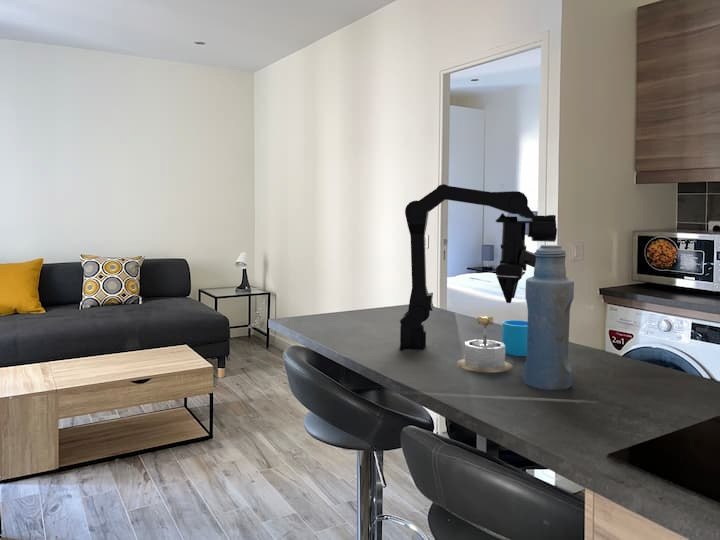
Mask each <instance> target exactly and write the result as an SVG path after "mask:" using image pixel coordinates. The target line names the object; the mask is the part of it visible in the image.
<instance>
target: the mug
mask: <svg viewBox="0 0 720 540" xmlns="http://www.w3.org/2000/svg"><path fill="white" fill-rule="evenodd" d="M527 325H528V320H517V319H515V320H504V321H502V327H501V328H502V331H501V335H502V336H501V342H502V343H504V345H505V355H510V356H516V357H527Z"/></svg>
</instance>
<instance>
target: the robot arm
mask: <svg viewBox="0 0 720 540" xmlns="http://www.w3.org/2000/svg"><path fill="white" fill-rule="evenodd" d="M444 201H451V202H452V201H453V202H460V203H466V204H472V205H477V206H478V205H480V206H487V207H490V208H493V209H496V210H498V211H503V213H501V214H500V216H499V217H497V218H496V219H495V223H500V224H501V223H502V233H501V234H502V235H501V236H502V237H501V244H500V249H501V255H500V257H501V258H500V260H499V265H497V266H496V268H495V276H496V279H497V281H498V284H499V286H500V289H501V291H502V294H503V296H504V299H505V302H506V303H507V304H511V303H512V300H513V299H514V298H515V296H516V292H517V288H518V284H519V281H520V280H522V278H523V276H524V275H525V274H526V271H527V267H528V266H530V267H532V268H535V263H536V251H535V252H532V251H529V250H527V245H526V244H525V243H526V225H527V238H530V239H531V242H549V243H550V242H551V243H552V242H553V243H554V242H556V240H557V235H558V227H557V219H556V217H557V216H556V215H555V214H547V215H535V213H534V212H533V211H532V209H531V208H530V207H529V206H528V205H529V200H528V197H527V196H526V195H525V193H524V192H521V191H516V190H515V191H492V192H491V191H484V190H478V189H472V188H466V187H465V188H464V187H458V186H451V185H447V184H445V183H444V184H442V183H441V184H440V185H438V186H437V187H436V188H435V189H433V190H432V191H431V192H429V193H428V194H426V195H424V197H422V198H420V199H419V200H412V201H410V202H409V203H408V204H407V205H406V206H405V209H404V214H405V219H406V223H407V228H408V231H409V232H408V233H409V236H410V259H411V261H410V263H411V293H410V296H409V303H408V309H407V311H406V312H405V313H404V314H403V315H402V317H401V318H400V319H399V322H400V331H399V333H400V336H399V350H401V351H404V350H418V351H420V350H421V351H424V350H425V348H426V346H427V330H425V324H423V323H424V322H426V321H427V320H428V318H429V317H430V314H431V313H432V312H433V309H434V303H433V298H434V296H433V295H434V292H429V290H428V287H427V268H426V265H427V264H426V263H427V262H426V261H427V260H426V231H427V225H428V220H429V212H431V211H432V210H433V209H435V208H436V207H438V206H439V205H440V204H442V203H443V202H444ZM504 212H505V213H508V214H510V215H518V216H519V217H521V218H523V219H529V220H518V216H507V215H505V214H504Z"/></svg>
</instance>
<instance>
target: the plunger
mask: <svg viewBox="0 0 720 540" xmlns="http://www.w3.org/2000/svg"><path fill="white" fill-rule="evenodd" d="M477 324H478V325H483V332H482V334H483V335H482V339H483V341H477V342H473V343H472V346H476V347H483V348H494V347H498V344H496V343H493V342H487V340H488V338H487V334H488V333H487V332H488V326H491V325H494V317H493V316H491V315H478V316H477Z"/></svg>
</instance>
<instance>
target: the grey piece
mask: <svg viewBox="0 0 720 540" xmlns="http://www.w3.org/2000/svg"><path fill="white" fill-rule="evenodd" d="M477 341H483V338H479V339H472V340H467V341H466V340H465V341H464V357H463V359H464V363H465V366H467V367H471V368H474V369H478V370H497V369H501V368H505V362H506V354H505V345H504V343H502V341H496V340H492V339H487V342H493V343H496V344H498V347H494V348H483V347H476V346H472V343H473V342H477Z"/></svg>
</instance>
